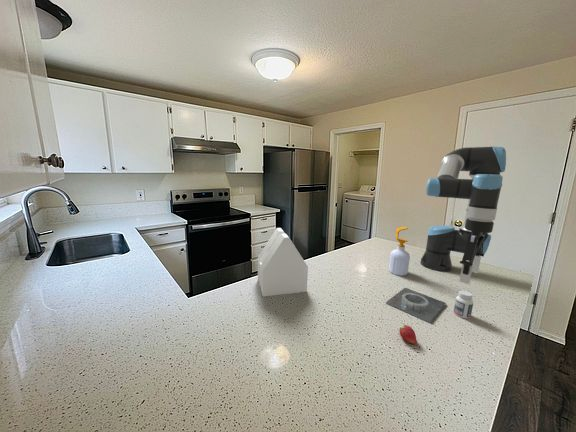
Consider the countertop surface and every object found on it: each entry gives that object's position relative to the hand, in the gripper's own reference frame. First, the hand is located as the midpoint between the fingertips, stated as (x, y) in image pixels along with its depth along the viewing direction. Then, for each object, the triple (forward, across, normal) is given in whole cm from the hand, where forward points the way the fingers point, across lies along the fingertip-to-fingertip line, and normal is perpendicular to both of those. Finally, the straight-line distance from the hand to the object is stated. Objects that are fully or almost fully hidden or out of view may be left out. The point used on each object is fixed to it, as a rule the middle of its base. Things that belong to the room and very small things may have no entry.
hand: (468, 277), depth 85 cm
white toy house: (+16, +38, -60) cm, 73 cm away
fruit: (+16, +30, -8) cm, 35 cm away
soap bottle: (+15, -19, -32) cm, 40 cm away
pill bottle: (+16, 0, 0) cm, 16 cm away
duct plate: (+15, +6, -14) cm, 22 cm away
